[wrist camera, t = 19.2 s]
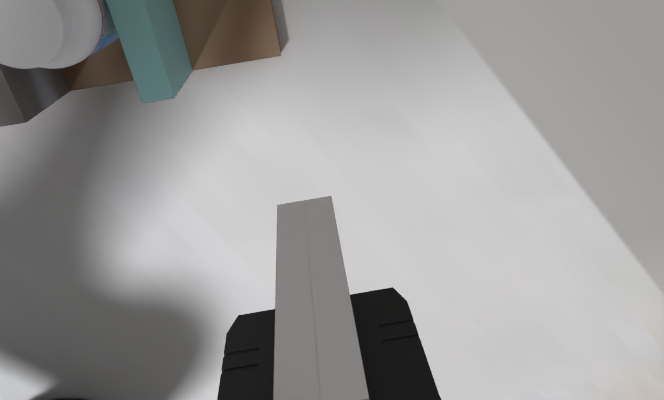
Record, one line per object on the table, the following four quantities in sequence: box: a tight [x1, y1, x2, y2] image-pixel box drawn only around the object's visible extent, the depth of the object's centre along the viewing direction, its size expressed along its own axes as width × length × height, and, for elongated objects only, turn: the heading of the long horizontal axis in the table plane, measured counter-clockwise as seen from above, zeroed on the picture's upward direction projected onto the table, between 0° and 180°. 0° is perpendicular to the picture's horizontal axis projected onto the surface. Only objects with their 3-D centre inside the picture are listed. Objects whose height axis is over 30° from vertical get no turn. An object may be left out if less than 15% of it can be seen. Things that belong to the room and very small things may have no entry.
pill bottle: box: [0, 0, 119, 69], centre depth 28 cm, size 6×6×11 cm
